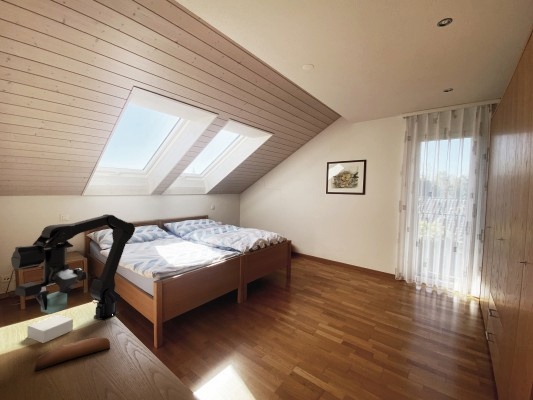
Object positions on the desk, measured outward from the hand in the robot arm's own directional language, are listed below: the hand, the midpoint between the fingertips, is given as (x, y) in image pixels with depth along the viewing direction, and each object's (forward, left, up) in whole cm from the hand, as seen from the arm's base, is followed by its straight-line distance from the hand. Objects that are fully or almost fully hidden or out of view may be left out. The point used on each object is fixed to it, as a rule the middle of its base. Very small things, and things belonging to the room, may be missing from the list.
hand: (54, 306), depth 85 cm
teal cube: (0, 0, -1) cm, 1 cm away
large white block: (-1, -4, -11) cm, 12 cm away
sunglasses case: (+2, +16, -12) cm, 20 cm away
